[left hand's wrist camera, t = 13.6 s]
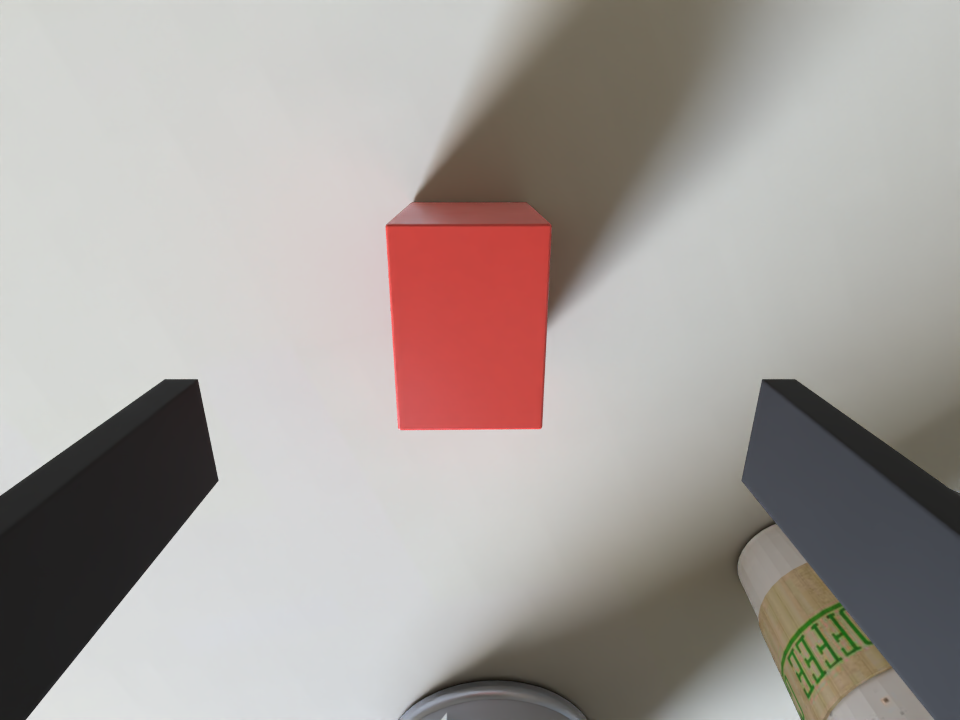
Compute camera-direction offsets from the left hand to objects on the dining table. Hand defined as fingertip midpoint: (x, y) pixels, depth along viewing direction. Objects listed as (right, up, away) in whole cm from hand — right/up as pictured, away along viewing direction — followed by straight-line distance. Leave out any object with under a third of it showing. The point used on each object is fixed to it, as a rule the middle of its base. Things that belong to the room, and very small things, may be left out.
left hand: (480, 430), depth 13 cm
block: (0, +6, +14) cm, 15 cm away
